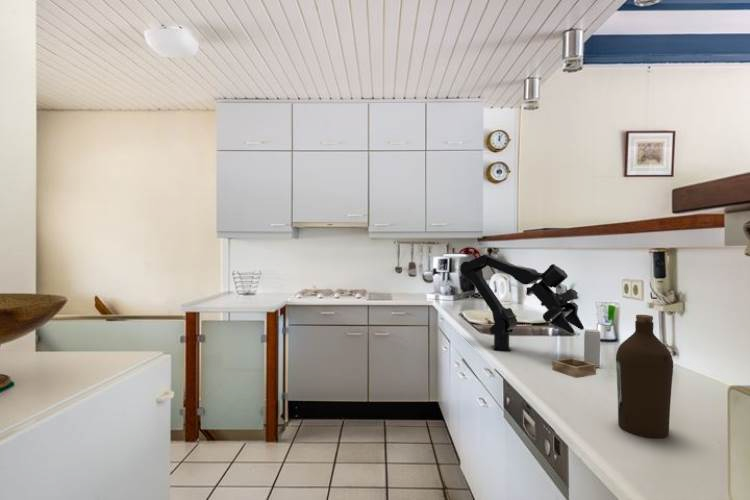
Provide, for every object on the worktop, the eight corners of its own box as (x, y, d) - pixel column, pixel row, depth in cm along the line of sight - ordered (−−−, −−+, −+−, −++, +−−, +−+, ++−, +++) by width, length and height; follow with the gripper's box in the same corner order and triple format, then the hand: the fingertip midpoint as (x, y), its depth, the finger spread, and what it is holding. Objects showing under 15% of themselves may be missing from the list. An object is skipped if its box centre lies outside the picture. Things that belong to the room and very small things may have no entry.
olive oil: (675, 428, 93) (676, 315, 93) (668, 445, 85) (670, 321, 85) (620, 415, 100) (622, 310, 100) (610, 429, 92) (611, 315, 92)
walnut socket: (552, 369, 138) (552, 360, 138) (571, 366, 142) (571, 357, 142) (576, 377, 130) (576, 368, 130) (595, 373, 134) (596, 364, 134)
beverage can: (596, 364, 144) (596, 329, 144) (602, 368, 140) (603, 332, 140) (581, 364, 145) (582, 329, 145) (587, 368, 140) (587, 331, 140)
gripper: (552, 282, 142) (586, 319, 135) (572, 280, 156) (605, 313, 148) (529, 304, 148) (561, 340, 140) (550, 299, 161) (581, 332, 153)
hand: (578, 330), depth 145 cm, fingers open, 9 cm apart
